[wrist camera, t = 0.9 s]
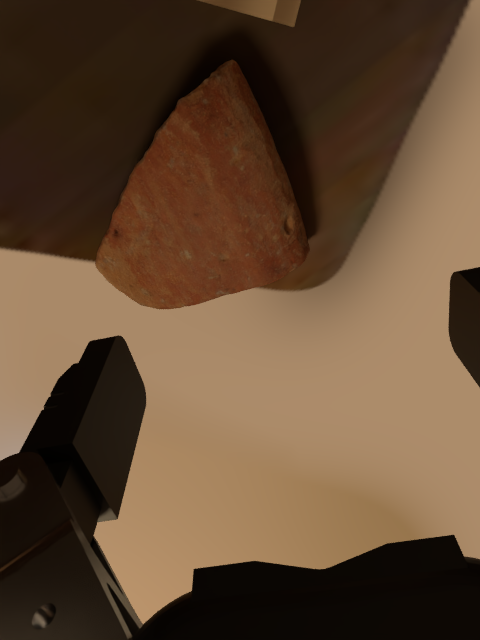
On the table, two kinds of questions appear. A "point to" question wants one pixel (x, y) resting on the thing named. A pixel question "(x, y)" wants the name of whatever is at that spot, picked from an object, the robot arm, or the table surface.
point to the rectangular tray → (263, 9)
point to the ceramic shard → (205, 204)
